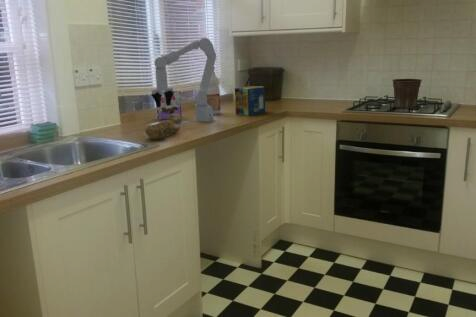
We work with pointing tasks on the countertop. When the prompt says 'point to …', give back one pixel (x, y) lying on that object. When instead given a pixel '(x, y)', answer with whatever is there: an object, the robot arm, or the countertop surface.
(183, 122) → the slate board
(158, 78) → the robot arm
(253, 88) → the protein box
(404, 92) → the plant pot
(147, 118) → the countertop surface
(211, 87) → the fruit juice
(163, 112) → the candy box
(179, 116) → the oak block
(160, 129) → the brown rounded lump
